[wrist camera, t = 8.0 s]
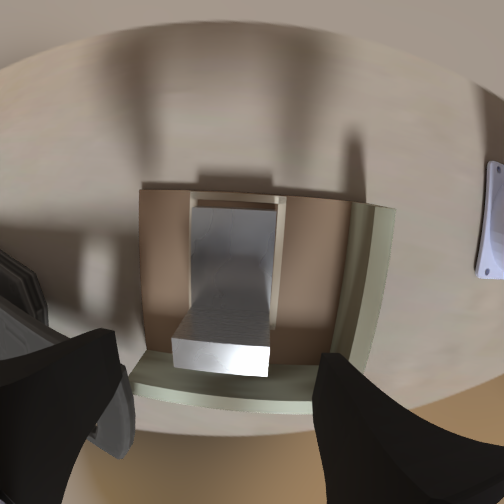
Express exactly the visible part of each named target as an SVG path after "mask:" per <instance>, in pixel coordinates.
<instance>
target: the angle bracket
mask: <svg viewBox="0 0 504 504" xmlns="http://www.w3.org/2000/svg"><path fill="white" fill-rule="evenodd" d="M276 212H277V211H276V209H261V208H243V207H222V206H195V207H192V217H191V307H190V309H189V310H188V312H187V313H186V315H185V317H184V318H183V320H182V321H181V323H180V325H179V326H178V328H177V330H176V331H175V333H174V334H173V336H172V338H171V339H172V352H173V363H174V367H176V368H183V369H190V370H198V371H206V372H215V373H225V374H236V375H249V376H265V377H267V372H268V362H269V352H270V319H269V310H270V298H271V285H272V271H273V257H274V243H275V227H276Z"/></svg>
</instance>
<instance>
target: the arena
mask: <svg viewBox="0 0 504 504" xmlns="http://www.w3.org/2000/svg"><path fill="white" fill-rule="evenodd" d="M195 206H222V207H243V208H261V209H276V211H277V212H276V227H275V243H274V257H273V271H272V285H271V298H270V310H269V319H270V352H269V362H268V372H267V377H265V376H249V375H236V374H225V373H215V372H206V371H198V370H190V369H183V368H176V367H174V363H173V352H172V339H171V338H172V336H173V334H174V333H175V331H176V330H177V328H178V326H179V325H180V323H181V321H182V320H183V318H184V317H185V315H186V313H187V312H188V310H189V309H190V307H191V217H192V207H195ZM395 214H396V209H393V208H388V207H383V206H378V205H373V204H368V203H361V202H352V201H343V200H333V199H323V198H312V197H301V196H288V195H275V194H260V193H243V192H223V191H196V190H139V256H140V279H141V295H142V308H143V319H144V329H145V338H146V347H147V350H146V352H145V353H144V354H143V356H142V357H141V359H140V360H139V362H138V363H137V365H136V366H135V367H134V369H133V370H132V372H131V373H130V375H129V376H128V379H129V383H130V386H131V390H132V394H133V395H138V396H142V397H146V398H151V399H156V400H161V401H166V402H172V403H178V404H184V405H190V406H197V407H204V408H211V409H220V410H229V411H240V412H253V413H270V414H313V411H312V395H313V390H314V386H315V382H316V377H317V372H318V368H319V363H320V358H321V353H340V354H341V355H342V356H344V357H345V358H346V359H347V360H348V361H349V362H350V363H351V364H352V365H353V366H354V367H355V368H356V369H357V370H359V371H360V372H361V373H362V374H363V373H364V370H365V367H366V363H367V360H368V356H369V353H370V349H371V345H372V341H373V338H374V334H375V329H376V325H377V321H378V317H379V312H380V308H381V303H382V298H383V293H384V288H385V283H386V278H387V272H388V266H389V260H390V253H391V247H392V239H393V232H394V223H395Z"/></svg>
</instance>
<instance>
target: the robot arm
mask: <svg viewBox="0 0 504 504" xmlns="http://www.w3.org/2000/svg"><path fill="white" fill-rule="evenodd" d="M497 169H498V172H497ZM485 270H486V272H485ZM475 274H476V276H477V277H479V278H482V279H504V165H503V164H501V163H498V162H496V161H489V162H488V164H487V184H486V200H485V211H484V220H483V229H482V236H481V242H480V249H479V254H478V260H477V265H476V270H475ZM122 377H123V375H122V370H121V365H120V360H119V354H118V349H117V343H116V337H115V331H113V330H108V329H103V328H99V329H95V330H92V331H89V332H86V333H84V334H81V335H78V336H76V337H73V338H71V339H68V340H66V341H63V342H61V343H58V344H55V345H53V346H50V347H47V348H44V349H41V350H38V351H35V352H32V353H29V354H26V355H22V356H18V357H14V358H9V359H5V360H0V504H61V503H62V499H63V495H64V492H65V489H66V486H67V482H68V480H69V477H70V474H71V472H72V469H73V466H74V464H75V461H76V459H77V457H78V455H79V452H80V450H81V448H82V446H83V444H84V442H85V440H86V439H87V437H88V435H89V434H90V432H91V431H92V429H93V428H94V426H95V425H96V423H97V421H98V420H99V418H100V417H101V415H102V414H103V412H104V411H105V409H106V408H107V406H108V405H109V403H110V401H111V400H112V398H113V397H114V394H115V392H116V390H117V388H118V386H119V384H120V381H121V379H122ZM312 411H313V423H314V428H315V432H316V437H317V442H318V446H319V451H320V456H321V460H322V465H323V470H324V476H325V482H326V495H327V504H497V503H498V502H499V501H500V500H501V499H502V498H503V497H504V446H499V445H493V444H488V443H483V442H479V441H475V440H472V439H469V438H466V437H463V436H460V435H457V434H455V433H452V432H449V431H447V430H444V429H443V428H440V427H438V426H436V425H434V424H432V423H430V422H428V421H426V420H424V419H422V418H420V417H419V416H417V415H415V414H414V413H412V412H411V411H409V410H407V409H406V408H404V407H403V406H401V405H400V404H398V403H397V402H396V401H394V400H393V399H392V398H390V397H389V396H388V395H386V394H385V393H384V392H382V391H381V390H380V389H379V388H378V387H376V386H375V385H374V384H373V383H372V382H371V381H369V380H368V379H367V378H366V377H365V376H364V375H363V374H362V373H361V372H360V371H359V370H357V369H356V368H355V367H354V366H353V365H352V364H351V363H350V362H349V361H348V360H347V359H346V358H345V357H344V356H342V355H341V354H340V353H321V358H320V363H319V368H318V372H317V377H316V382H315V386H314V390H313V395H312Z"/></svg>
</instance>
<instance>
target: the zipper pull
mask: <svg viewBox="0 0 504 504" xmlns="http://www.w3.org/2000/svg"><path fill="white" fill-rule="evenodd" d="M68 339H70V338H68V337H66V336H64V335H62V334H61V333H59V332H57V331H55V330H53V329H51V328H50V327H49V325H48V308H47V304H46V301H45V299H44V296H43V294H42V291H41V288H40V285H39V282H38V279H37V276H36V274H35V273H34V272H33V271H31V270H30V269H28V268H27V267H25V266H24V265H22V264H21V263H19V262H18V261H16V260H15V259H13V258H12V257H10V256H9V255H7V254H6V253H5V252H3V251H2V250H0V360H5V359H9V358H14V357H18V356H22V355H26V354H29V353H32V352H35V351H38V350H41V349H44V348H47V347H50V346H53V345H55V344H58V343H61V342H63V341H66V340H68ZM120 365H121V370H122V375H123V377H122V379H121V381H120V384H119V386H118V388H117V390H116V392H115V394H114V397H113V398H112V400H111V401H110V403H109V405H108V406H107V408H106V409H105V411H104V412H103V414H102V415H101V417H100V418H99V420H98V421H97V426H94V428H93V429H92V431H91V432H90V434H89V435H88V437H87V439H88V440H89V441H90V442H92V443H93V444H95V445H96V446H98V447H99V448H101V449H102V450H104V451H105V452H107V453H109V454H110V455H112V456H113V457H115V458H117V459H123V458H124V456H125V455H126V454H127V452H128V451H129V449H130V447H131V445H132V444H133V441H134V435H135V408H134V398H133V394H132V390H131V386H130V383H129V379H128V375H127V371H126V368H125V366H124V365H122V364H120Z"/></svg>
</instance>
